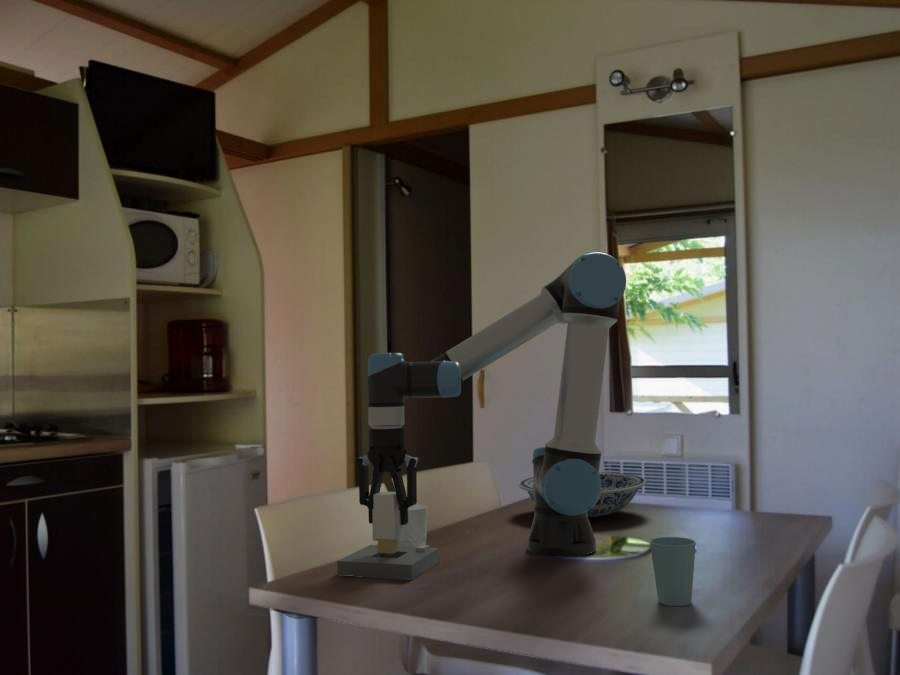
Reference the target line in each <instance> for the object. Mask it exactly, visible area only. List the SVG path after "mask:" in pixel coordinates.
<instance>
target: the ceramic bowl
mask: <svg viewBox="0 0 900 675" xmlns="http://www.w3.org/2000/svg"><path fill="white" fill-rule="evenodd" d="M599 475H600V479H601V494H600V497H599V499H598V501H597V503H596V504H595V505H594V507H592V508H591V509H590V510H589V511H587V516H588V518H596V517H604V516H608V515H610V514H611V515H612V514H614V513H617V512H619V511H620V510H622V509H624V508H625V507H626V506H628V505H629V503H631V501H632V500H633V499H634V497H635V496H636V494H637V493H638V490H639V488H642V487H643V486H645V485H646V484H647V481H646V478H644V477H643V476H642V477H641V476H639V475H634V474H630V473H629V474H628V473H623V472H621V473H620V472H605V471H599ZM518 486H519V489H521V490H523V491H526V492H527V494H528V495H529V497H530V499H531V500H532V501H533V502H534V476H532V477H529V478H525V479H522V480H521V481H520V482H519V483H518Z"/></svg>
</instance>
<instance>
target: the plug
mask: <svg viewBox="0 0 900 675" xmlns="http://www.w3.org/2000/svg"><path fill="white" fill-rule="evenodd" d="M373 498H374V539H378V540H377V545H378V553H388V554H394V553H396V552H397V551H399V542H396V510H397V509H398V507H399V505H398V500H397V496H396V492H395V491H380V492H379V493H377V494H374V495H373Z"/></svg>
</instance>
